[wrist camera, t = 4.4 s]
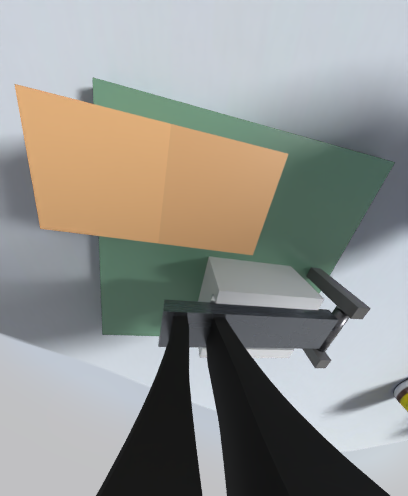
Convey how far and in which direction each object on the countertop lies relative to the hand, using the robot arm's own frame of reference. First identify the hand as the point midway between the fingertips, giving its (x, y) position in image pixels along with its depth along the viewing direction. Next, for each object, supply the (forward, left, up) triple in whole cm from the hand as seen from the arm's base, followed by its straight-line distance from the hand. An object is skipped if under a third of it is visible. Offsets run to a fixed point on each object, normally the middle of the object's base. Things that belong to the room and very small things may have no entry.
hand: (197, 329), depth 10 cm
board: (-2, -3, -5) cm, 6 cm away
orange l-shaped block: (+2, -7, -3) cm, 8 cm away
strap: (-4, 0, -1) cm, 4 cm away
